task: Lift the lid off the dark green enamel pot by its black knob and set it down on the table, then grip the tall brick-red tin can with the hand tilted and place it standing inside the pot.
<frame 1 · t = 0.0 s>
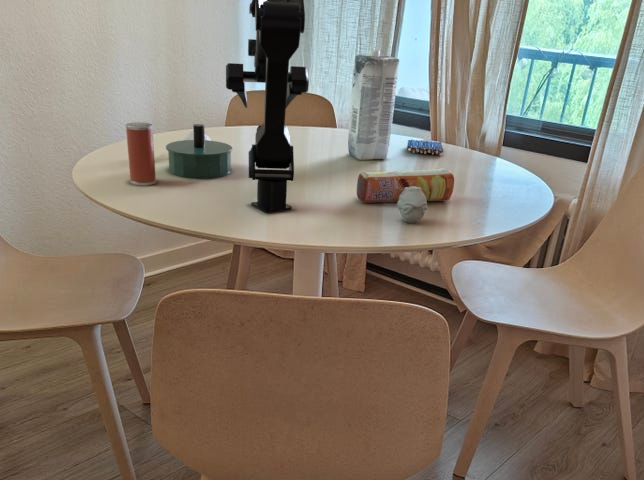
hand: (265, 107, 154), 15 cm above the table, tool tilted 35°, fingers open, 9 cm apart
juice carton: (367, 157, 181), on the table
tin can: (143, 182, 147), on the table
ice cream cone: (194, 156, 172), on the table
pot lid: (199, 148, 155), point 5 cm above the table, touching pot
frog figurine: (410, 222, 132), on the table
pot: (200, 170, 158), on the table
snack package: (403, 201, 145), on the table
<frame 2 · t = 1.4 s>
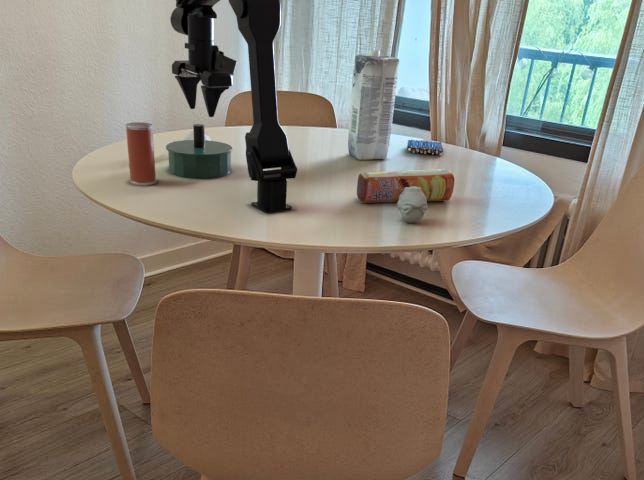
hand: (201, 112, 152), 13 cm above the table, tool pointing down, fingers open, 9 cm apart
nothing on the table moved.
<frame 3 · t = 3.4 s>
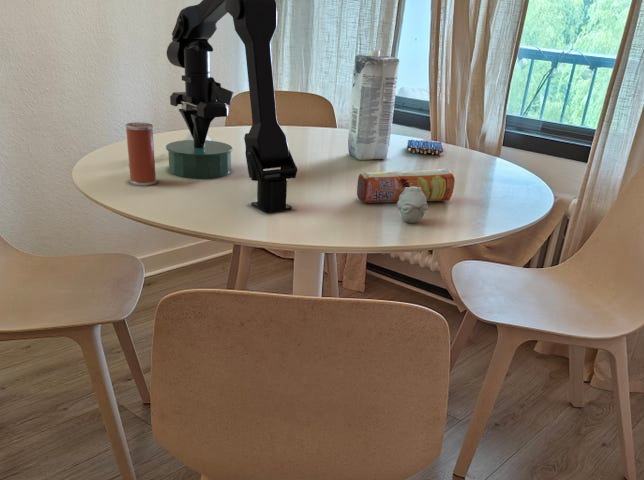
hand: (199, 142, 155), 7 cm above the table, tool pointing down, fingers closed on pot lid, 2 cm apart
pot lid: (199, 148, 155), point 5 cm above the table, touching gripper, pot
everything else where it was.
when the fingers open (2 cm above the table, at t = 8.8 s): pot lid stays where it is, point 1 cm above the table.
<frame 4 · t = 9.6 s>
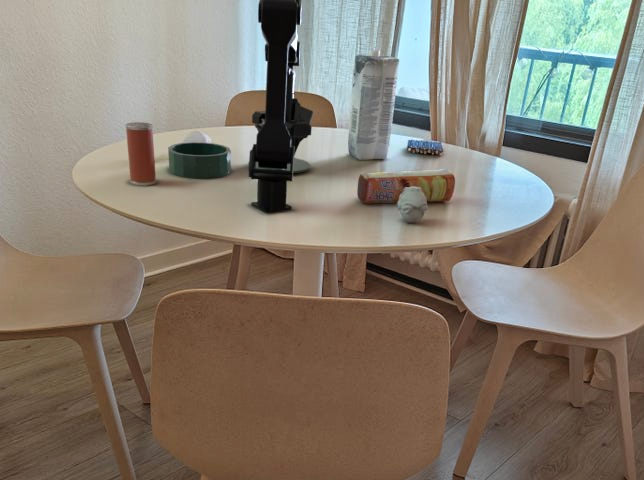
hand: (279, 158, 164), 2 cm above the table, tool pointing down, fingers open, 9 cm apart
pot lid: (279, 165, 165), point 1 cm above the table
everything else where it was.
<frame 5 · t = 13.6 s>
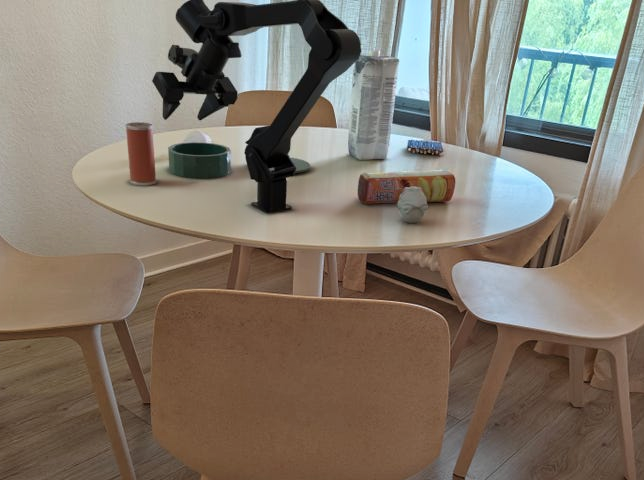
hand: (181, 118, 141), 14 cm above the table, tool tilted 35°, fingers open, 9 cm apart
nothing on the table moved.
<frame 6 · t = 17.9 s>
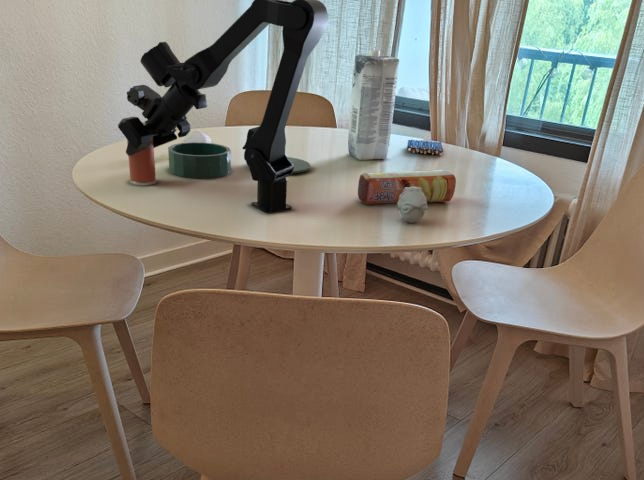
hand: (136, 151, 144), 7 cm above the table, tool tilted 45°, fingers closed on tin can, 5 cm apart
tin can: (143, 182, 147), on the table, touching gripper
everything else where it was.
when the fingers open (7 cm above the table, at t = 25.3 s): tin can stays where it is, resting on pot.
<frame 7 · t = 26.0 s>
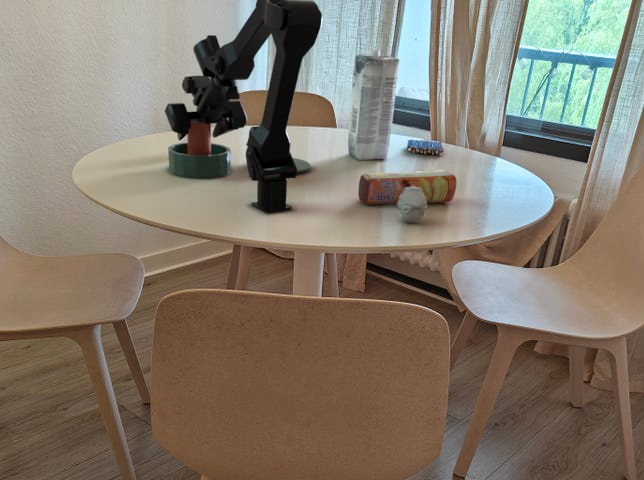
hand: (196, 137, 155), 8 cm above the table, tool tilted 45°, fingers open, 9 cm apart
tin can: (200, 169, 158), resting on pot
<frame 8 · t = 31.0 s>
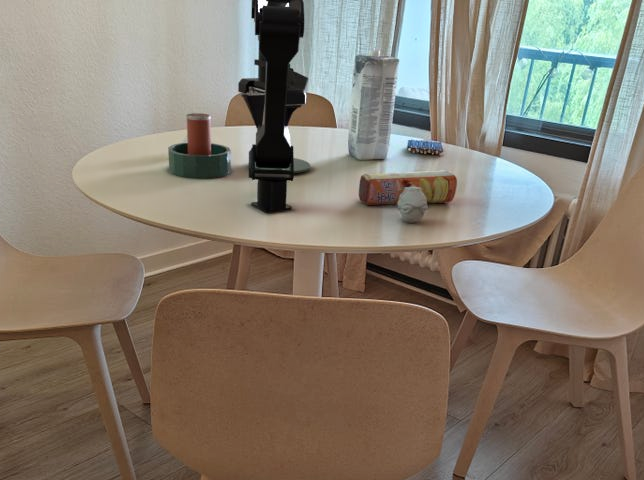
hand: (270, 132, 143), 12 cm above the table, tool pointing down, fingers open, 9 cm apart
at the end: pot lid inside the target area (0.1 cm from its centre), point 0.6 cm above the table; tin can inside the target area in the pot (0.1 cm from its centre), point 0.4 cm above the pot's base; tin can tilted 0° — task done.
